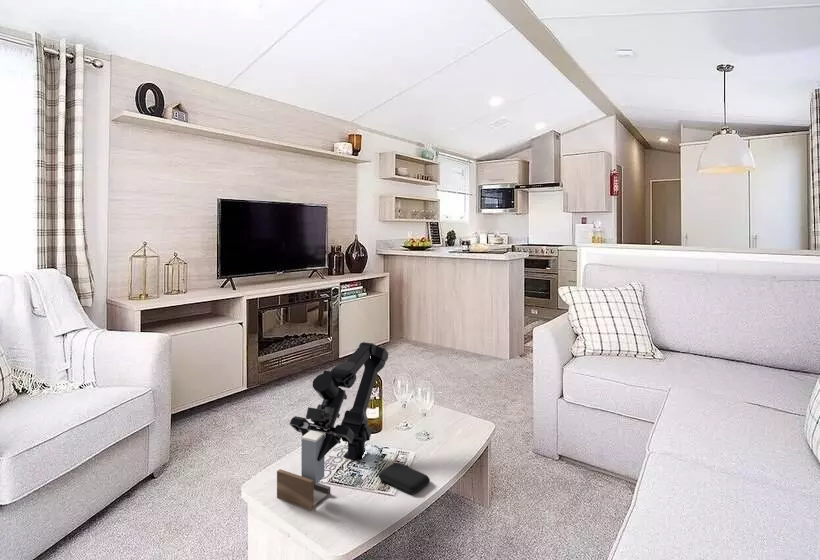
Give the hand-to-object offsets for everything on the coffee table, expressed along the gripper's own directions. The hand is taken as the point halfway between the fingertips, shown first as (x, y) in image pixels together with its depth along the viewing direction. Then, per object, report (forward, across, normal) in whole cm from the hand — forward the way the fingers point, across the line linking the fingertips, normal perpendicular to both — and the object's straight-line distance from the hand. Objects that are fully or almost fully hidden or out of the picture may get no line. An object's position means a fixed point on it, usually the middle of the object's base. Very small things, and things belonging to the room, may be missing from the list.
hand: (310, 458), depth 127 cm
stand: (+8, -3, +10) cm, 13 cm away
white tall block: (+4, 0, +6) cm, 7 cm away
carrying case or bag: (-5, +21, +24) cm, 32 cm away
